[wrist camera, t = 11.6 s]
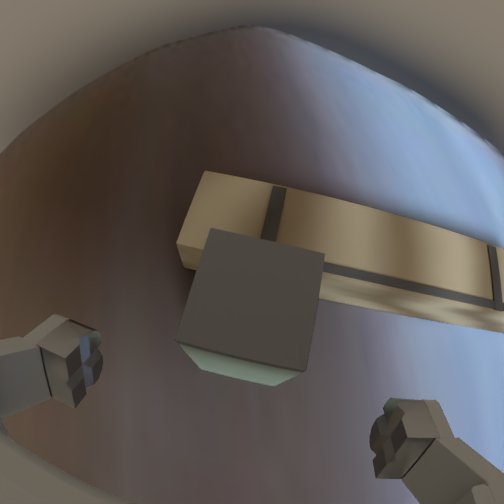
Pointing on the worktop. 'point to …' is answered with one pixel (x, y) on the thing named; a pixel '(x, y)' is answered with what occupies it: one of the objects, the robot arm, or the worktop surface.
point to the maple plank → (358, 250)
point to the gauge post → (252, 308)
